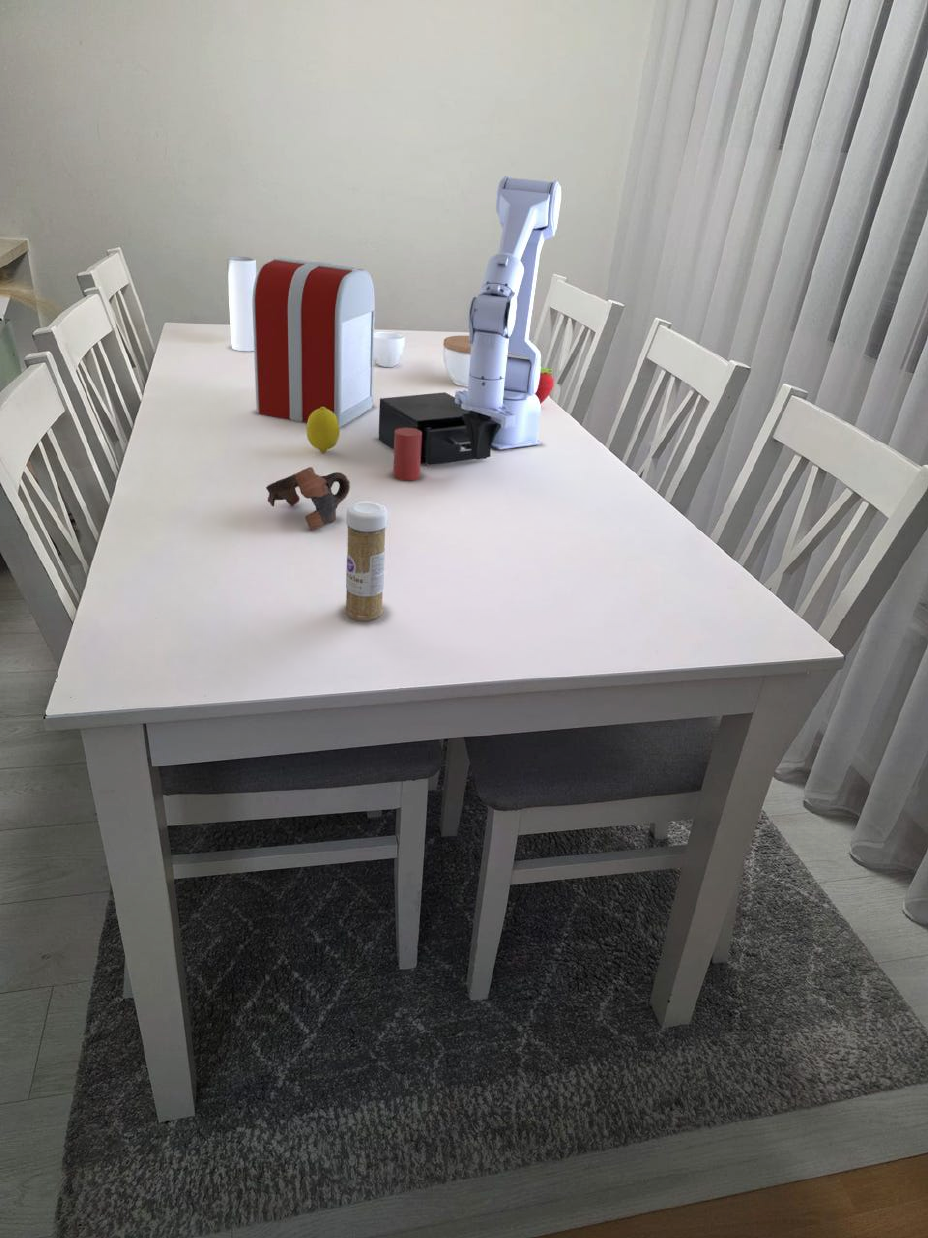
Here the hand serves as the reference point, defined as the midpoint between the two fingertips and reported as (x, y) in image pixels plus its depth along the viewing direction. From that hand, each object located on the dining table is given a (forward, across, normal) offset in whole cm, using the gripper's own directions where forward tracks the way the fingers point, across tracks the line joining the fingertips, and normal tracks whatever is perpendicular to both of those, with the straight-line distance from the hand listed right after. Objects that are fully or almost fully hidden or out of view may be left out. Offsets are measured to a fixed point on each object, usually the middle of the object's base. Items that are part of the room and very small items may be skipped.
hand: (479, 457), depth 146 cm
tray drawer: (+3, -10, 0) cm, 10 cm away
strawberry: (+4, -30, +35) cm, 46 cm away
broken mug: (+4, +4, -32) cm, 33 cm away
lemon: (+4, -20, -19) cm, 28 cm away
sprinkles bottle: (+4, +33, -38) cm, 51 cm away
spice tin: (+3, -5, -11) cm, 12 cm away
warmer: (+3, -16, 0) cm, 16 cm away
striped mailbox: (+4, -43, -10) cm, 44 cm away
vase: (+4, -93, -3) cm, 93 cm away
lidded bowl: (+4, -51, +31) cm, 60 cm away
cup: (0, -70, +20) cm, 73 cm away
